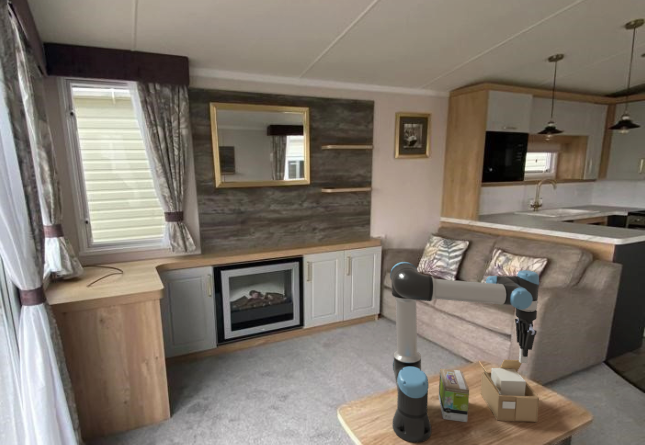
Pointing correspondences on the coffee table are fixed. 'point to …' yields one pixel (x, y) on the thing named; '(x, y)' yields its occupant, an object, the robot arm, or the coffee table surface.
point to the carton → (509, 396)
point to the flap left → (488, 376)
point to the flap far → (511, 364)
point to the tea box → (453, 395)
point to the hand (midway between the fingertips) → (523, 362)
